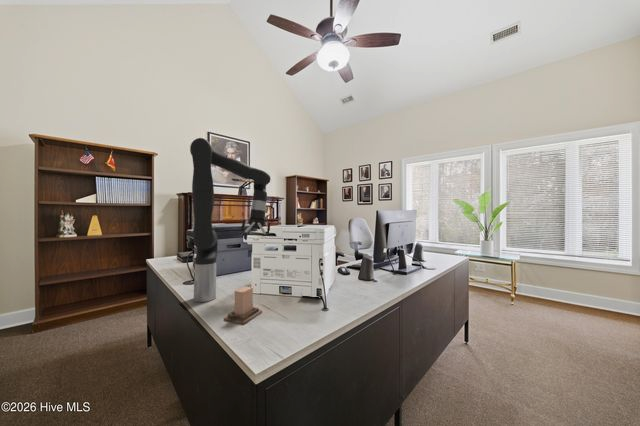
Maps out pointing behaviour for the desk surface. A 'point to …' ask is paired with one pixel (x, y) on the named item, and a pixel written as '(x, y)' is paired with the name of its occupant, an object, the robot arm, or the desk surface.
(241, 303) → the terracotta block
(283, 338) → the desk surface
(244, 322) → the walnut cradle
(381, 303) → the desk surface
